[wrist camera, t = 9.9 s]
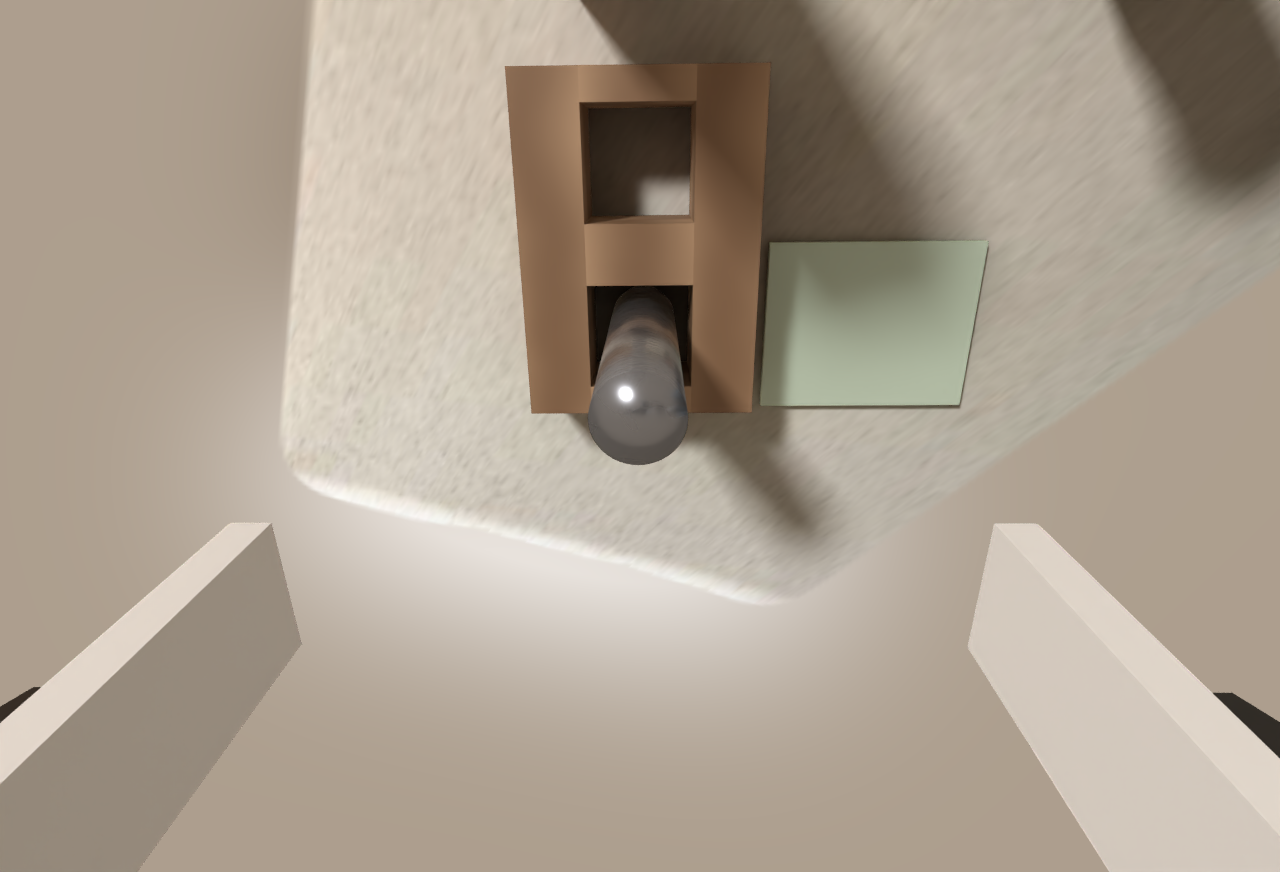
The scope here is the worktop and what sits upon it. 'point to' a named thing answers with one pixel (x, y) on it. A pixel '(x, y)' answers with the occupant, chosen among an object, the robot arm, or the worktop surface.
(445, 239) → the worktop surface
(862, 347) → the mat
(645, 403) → the pin
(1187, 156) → the worktop surface
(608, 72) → the socket block
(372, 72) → the worktop surface
